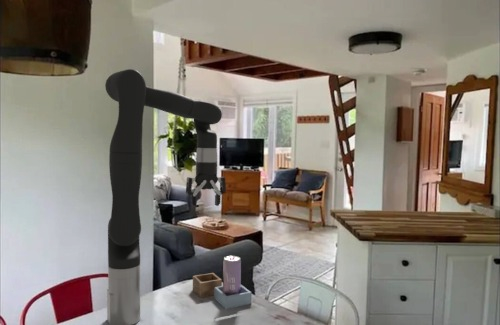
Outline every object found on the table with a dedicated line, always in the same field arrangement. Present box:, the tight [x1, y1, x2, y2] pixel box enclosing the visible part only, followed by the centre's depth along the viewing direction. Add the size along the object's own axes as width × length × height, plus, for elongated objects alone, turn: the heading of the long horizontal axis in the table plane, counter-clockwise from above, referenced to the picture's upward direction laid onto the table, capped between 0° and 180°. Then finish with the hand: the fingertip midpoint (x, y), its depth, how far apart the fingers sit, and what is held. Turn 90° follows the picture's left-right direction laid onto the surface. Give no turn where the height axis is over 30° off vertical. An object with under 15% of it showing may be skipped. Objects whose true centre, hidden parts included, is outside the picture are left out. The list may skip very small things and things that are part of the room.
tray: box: [213, 284, 253, 310], centre depth 128 cm, size 10×10×5 cm
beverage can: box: [222, 255, 242, 296], centre depth 128 cm, size 6×6×15 cm
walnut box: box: [192, 272, 223, 299], centre depth 136 cm, size 8×8×6 cm
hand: (205, 206), depth 135 cm, fingers open, 8 cm apart
